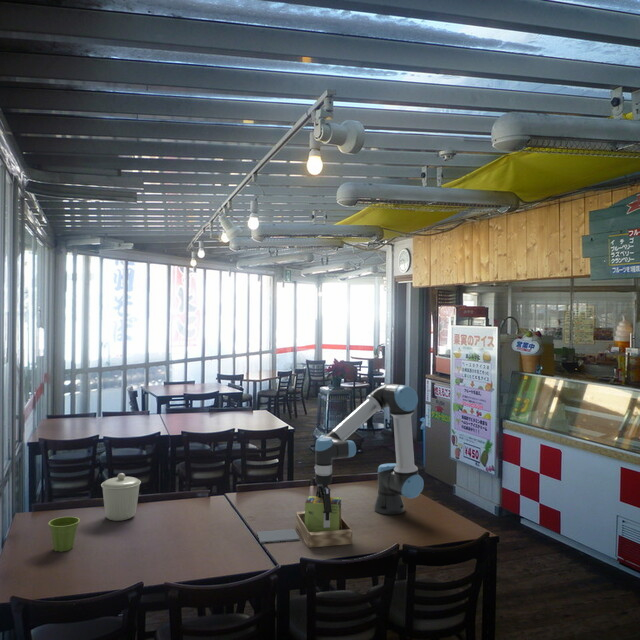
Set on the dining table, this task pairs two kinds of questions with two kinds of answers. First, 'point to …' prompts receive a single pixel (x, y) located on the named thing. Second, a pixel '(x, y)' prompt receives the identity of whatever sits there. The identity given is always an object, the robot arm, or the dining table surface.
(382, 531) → the dining table surface
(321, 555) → the dining table surface
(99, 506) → the dining table surface
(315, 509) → the protein box
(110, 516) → the canister
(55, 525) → the plant pot
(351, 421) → the robot arm
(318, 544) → the open wooden box
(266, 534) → the mat
